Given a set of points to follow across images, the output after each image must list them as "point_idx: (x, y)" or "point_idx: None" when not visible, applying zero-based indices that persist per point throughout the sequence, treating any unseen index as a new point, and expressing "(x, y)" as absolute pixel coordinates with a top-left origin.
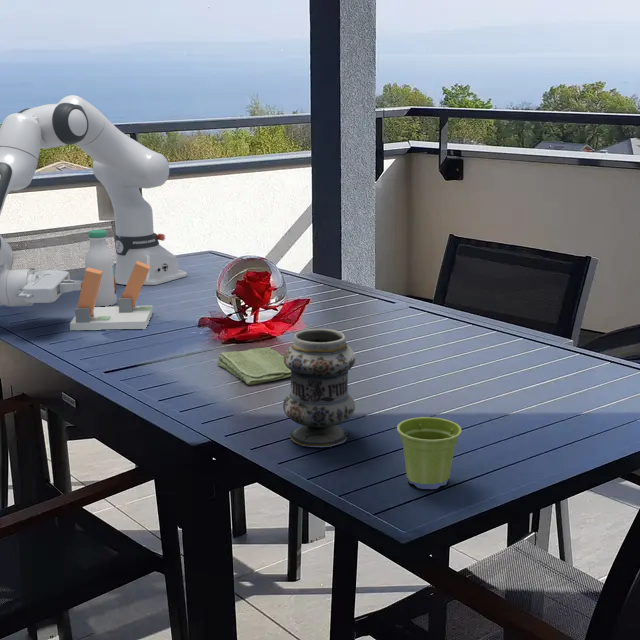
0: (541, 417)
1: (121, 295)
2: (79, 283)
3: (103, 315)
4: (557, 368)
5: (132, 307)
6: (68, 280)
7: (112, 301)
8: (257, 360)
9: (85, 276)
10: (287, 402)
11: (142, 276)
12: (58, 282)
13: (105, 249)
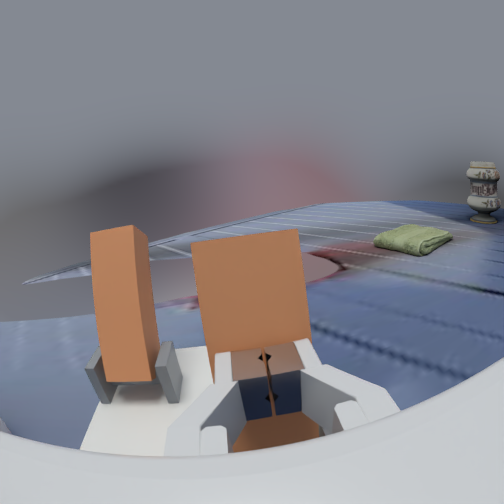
0: (403, 205)
1: (95, 372)
2: (307, 339)
3: None
4: (333, 207)
5: None
6: (201, 427)
7: (8, 429)
8: (419, 231)
9: (300, 271)
10: (498, 200)
11: (146, 264)
12: (442, 392)
13: None
